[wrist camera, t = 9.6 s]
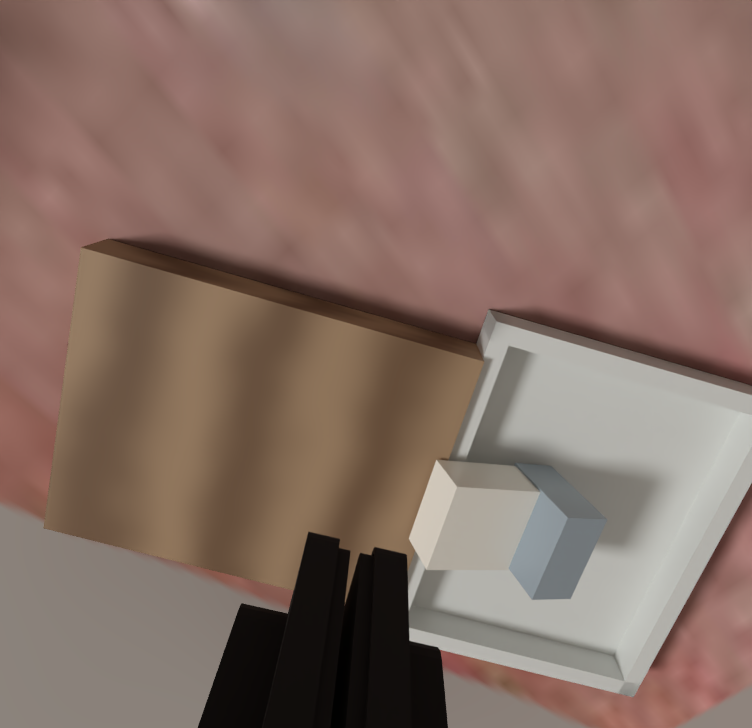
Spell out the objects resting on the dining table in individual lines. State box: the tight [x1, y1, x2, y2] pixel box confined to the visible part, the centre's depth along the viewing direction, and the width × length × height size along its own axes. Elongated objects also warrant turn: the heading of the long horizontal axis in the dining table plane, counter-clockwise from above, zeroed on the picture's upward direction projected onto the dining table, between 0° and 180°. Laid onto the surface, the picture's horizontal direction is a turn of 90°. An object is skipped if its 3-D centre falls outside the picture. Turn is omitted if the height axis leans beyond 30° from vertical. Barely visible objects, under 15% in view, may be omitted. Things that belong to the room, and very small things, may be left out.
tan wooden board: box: [44, 239, 484, 603], centre depth 34 cm, size 20×16×3 cm
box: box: [408, 309, 752, 697], centre depth 36 cm, size 16×20×2 cm
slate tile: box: [509, 463, 608, 600], centre depth 34 cm, size 5×5×2 cm
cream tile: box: [409, 460, 540, 570], centre depth 33 cm, size 5×5×2 cm
